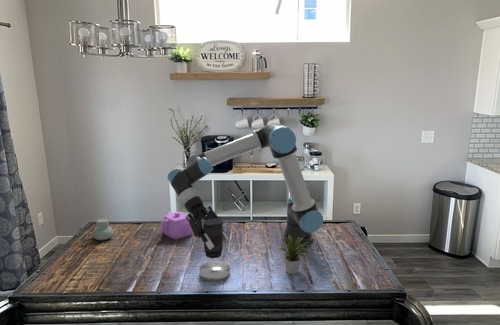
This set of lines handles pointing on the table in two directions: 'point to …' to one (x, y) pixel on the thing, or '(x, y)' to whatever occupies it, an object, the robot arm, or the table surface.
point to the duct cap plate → (214, 271)
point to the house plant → (293, 255)
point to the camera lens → (213, 237)
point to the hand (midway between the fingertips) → (219, 244)
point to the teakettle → (176, 225)
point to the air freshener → (102, 230)
